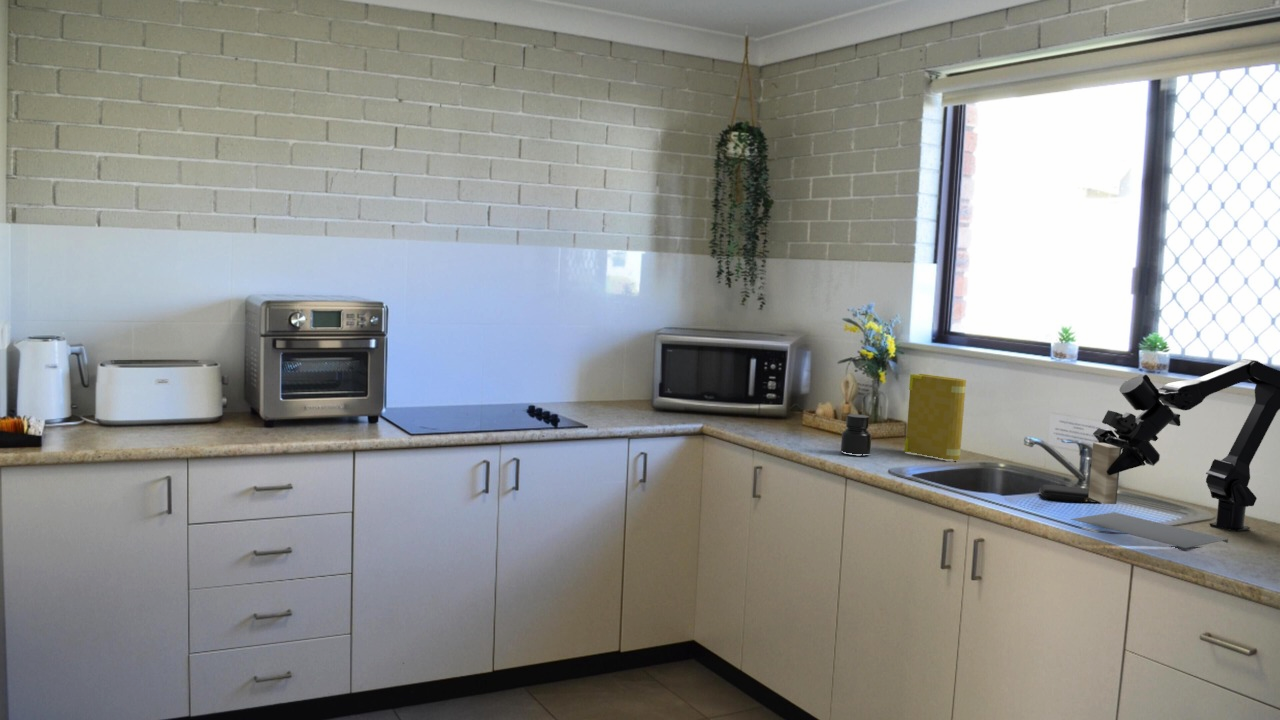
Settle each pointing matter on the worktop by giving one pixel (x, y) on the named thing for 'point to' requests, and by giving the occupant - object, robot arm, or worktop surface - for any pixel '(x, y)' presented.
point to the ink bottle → (856, 435)
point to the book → (935, 416)
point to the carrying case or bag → (1066, 494)
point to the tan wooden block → (1103, 473)
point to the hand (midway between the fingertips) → (1099, 470)
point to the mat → (1151, 530)
